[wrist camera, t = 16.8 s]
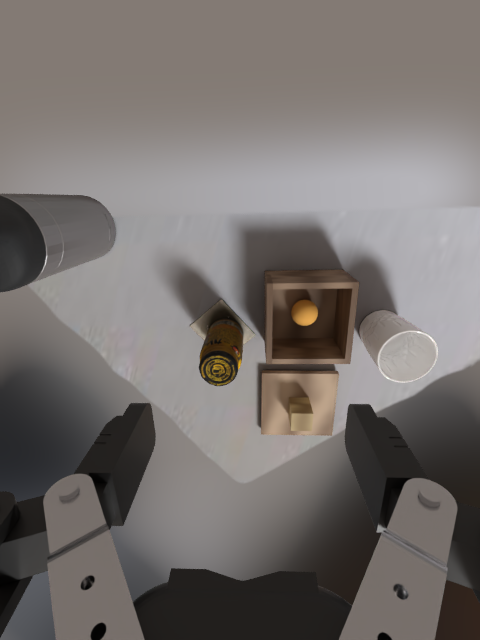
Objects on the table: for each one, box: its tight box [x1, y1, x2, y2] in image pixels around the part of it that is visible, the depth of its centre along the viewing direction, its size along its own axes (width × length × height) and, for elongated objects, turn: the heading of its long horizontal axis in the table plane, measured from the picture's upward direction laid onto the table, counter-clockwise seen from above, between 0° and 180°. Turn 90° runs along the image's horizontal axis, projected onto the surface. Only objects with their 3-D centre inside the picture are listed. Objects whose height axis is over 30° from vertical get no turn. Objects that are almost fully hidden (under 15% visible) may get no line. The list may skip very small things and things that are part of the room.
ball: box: [291, 300, 318, 326], centre depth 48 cm, size 4×4×4 cm
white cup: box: [359, 310, 438, 382], centre depth 47 cm, size 8×8×10 cm
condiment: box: [190, 299, 255, 386], centre depth 47 cm, size 7×8×12 cm
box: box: [265, 270, 359, 364], centre depth 47 cm, size 12×12×8 cm
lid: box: [261, 370, 339, 436], centre depth 55 cm, size 13×13×6 cm
